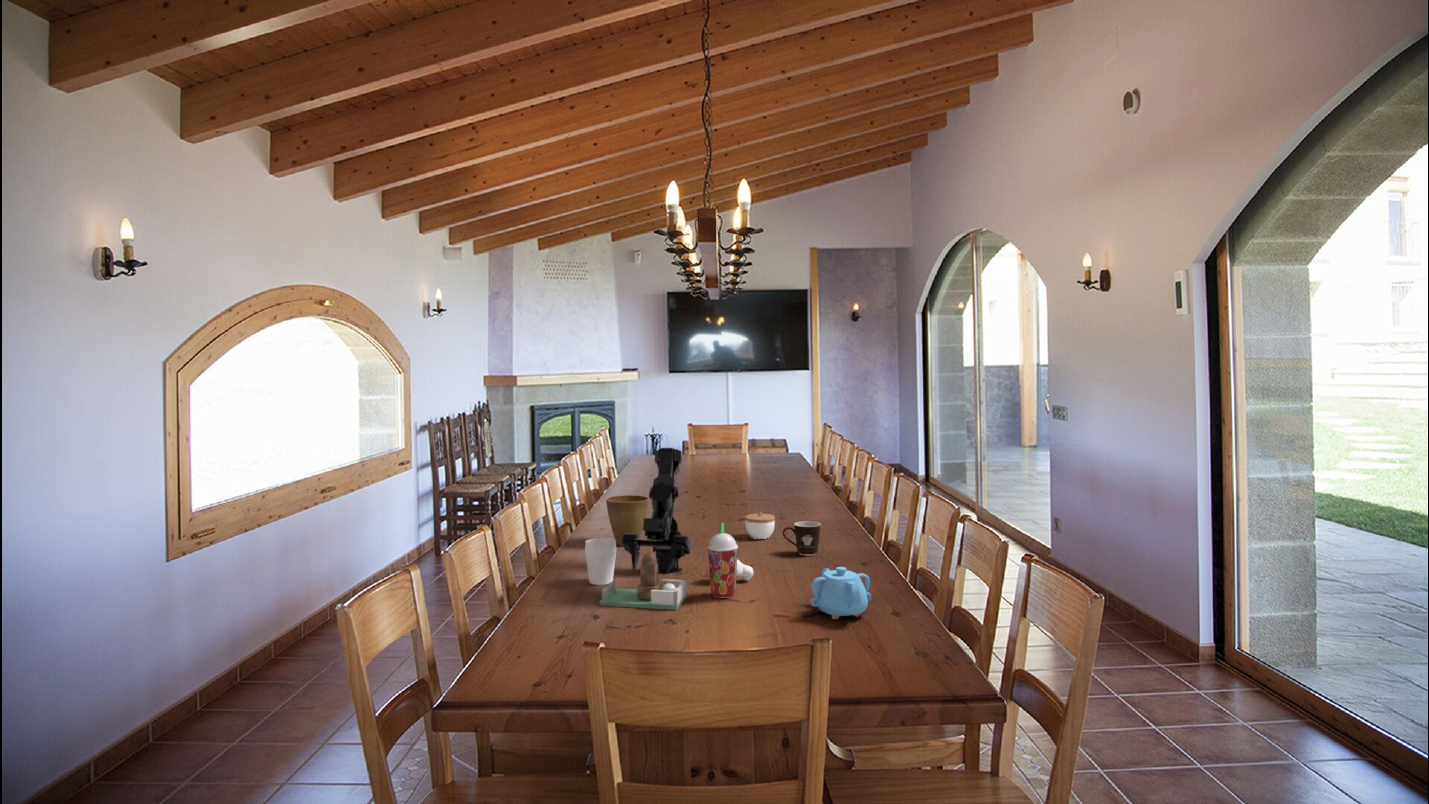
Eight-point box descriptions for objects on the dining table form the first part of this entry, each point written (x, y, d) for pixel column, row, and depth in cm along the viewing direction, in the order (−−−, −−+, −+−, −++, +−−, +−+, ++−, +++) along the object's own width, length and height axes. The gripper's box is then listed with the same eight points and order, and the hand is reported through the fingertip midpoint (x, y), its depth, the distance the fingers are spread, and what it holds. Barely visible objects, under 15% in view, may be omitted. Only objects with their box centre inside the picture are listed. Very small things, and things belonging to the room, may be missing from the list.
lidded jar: (743, 540, 282) (743, 514, 281) (747, 534, 292) (747, 508, 292) (773, 541, 280) (773, 515, 280) (776, 534, 291) (776, 509, 290)
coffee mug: (824, 553, 264) (825, 523, 263) (813, 558, 257) (813, 528, 256) (793, 548, 270) (793, 519, 270) (781, 554, 263) (781, 524, 262)
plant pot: (647, 548, 272) (646, 502, 271) (603, 548, 272) (602, 502, 271) (651, 538, 286) (650, 494, 286) (609, 538, 287) (609, 494, 286)
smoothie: (742, 592, 221) (741, 521, 220) (733, 601, 213) (732, 527, 212) (713, 590, 224) (713, 519, 222) (703, 598, 216) (702, 525, 215)
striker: (637, 599, 212) (636, 555, 211) (643, 592, 218) (643, 549, 217) (655, 600, 211) (654, 556, 210) (661, 593, 217) (661, 550, 216)
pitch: (599, 605, 211) (599, 588, 211) (614, 591, 223) (614, 576, 222) (676, 610, 206) (676, 592, 206) (687, 596, 218) (687, 579, 218)
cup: (610, 587, 227) (610, 545, 227) (580, 585, 229) (580, 544, 228) (620, 578, 236) (620, 538, 235) (591, 576, 238) (591, 536, 237)
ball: (673, 580, 215) (672, 595, 216) (659, 582, 214) (659, 597, 214) (679, 584, 212) (679, 599, 212) (665, 586, 210) (665, 601, 210)
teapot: (888, 622, 196) (888, 574, 195) (826, 629, 191) (826, 580, 191) (852, 598, 215) (852, 555, 215) (794, 604, 211) (794, 560, 210)
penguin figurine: (713, 549, 235) (754, 552, 235) (711, 577, 235) (751, 581, 235) (713, 554, 228) (755, 558, 229) (711, 583, 229) (752, 587, 229)
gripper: (622, 504, 221) (609, 554, 211) (688, 506, 217) (678, 557, 207) (631, 526, 229) (619, 574, 219) (695, 528, 225) (686, 578, 215)
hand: (650, 571), depth 215 cm, fingers open, 9 cm apart
